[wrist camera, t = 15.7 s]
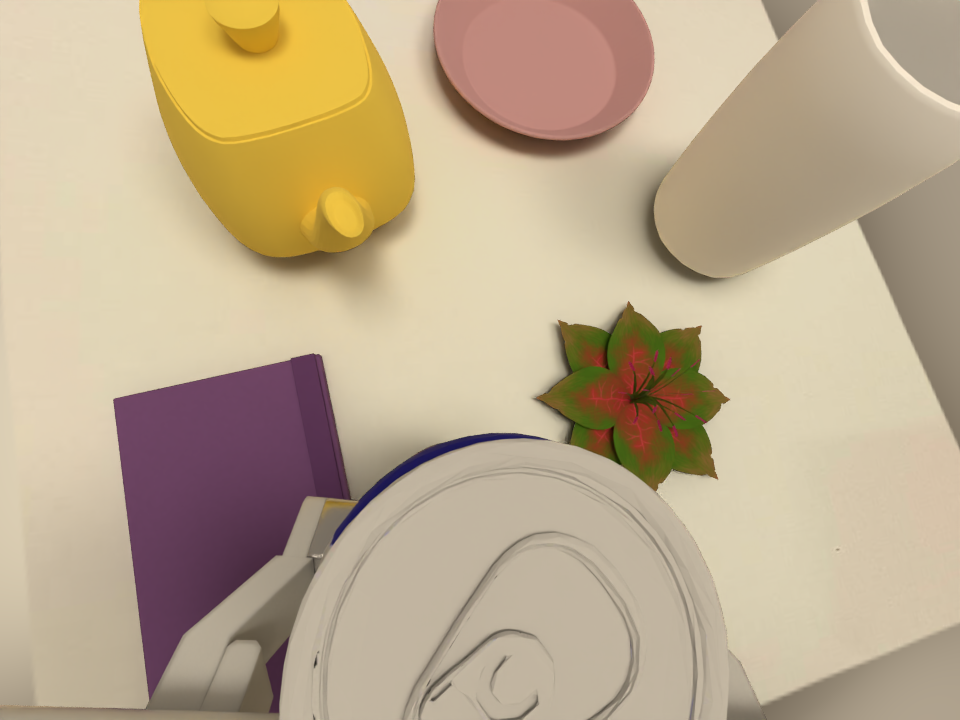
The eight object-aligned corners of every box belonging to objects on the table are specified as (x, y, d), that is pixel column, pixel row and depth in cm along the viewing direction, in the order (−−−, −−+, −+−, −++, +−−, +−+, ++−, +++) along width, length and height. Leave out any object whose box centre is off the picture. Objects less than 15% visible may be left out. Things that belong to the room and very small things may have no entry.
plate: (671, 135, 30) (688, 113, 28) (472, 180, 27) (476, 159, 25) (596, -34, 32) (607, -65, 30) (405, -7, 29) (404, -39, 27)
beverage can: (525, 461, 20) (775, 496, 6) (493, 587, 19) (709, 1032, 5) (410, 427, 20) (369, 375, 6) (370, 553, 19) (179, 917, 4)
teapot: (468, 285, 26) (499, 174, 15) (285, 362, 24) (174, 293, 13) (347, 40, 28) (301, -203, 18) (169, 90, 26) (-4, -153, 15)
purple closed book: (394, 713, 21) (393, 725, 20) (169, 795, 19) (157, 812, 18) (321, 355, 24) (317, 352, 23) (120, 400, 22) (108, 398, 21)
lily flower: (528, 297, 26) (550, 266, 22) (715, 305, 27) (771, 278, 23) (533, 509, 24) (559, 523, 19) (737, 505, 25) (805, 517, 21)
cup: (722, 155, 30) (979, -97, 16) (783, 263, 29) (1115, 92, 15) (616, 192, 28) (800, -53, 14) (676, 308, 27) (938, 163, 13)
